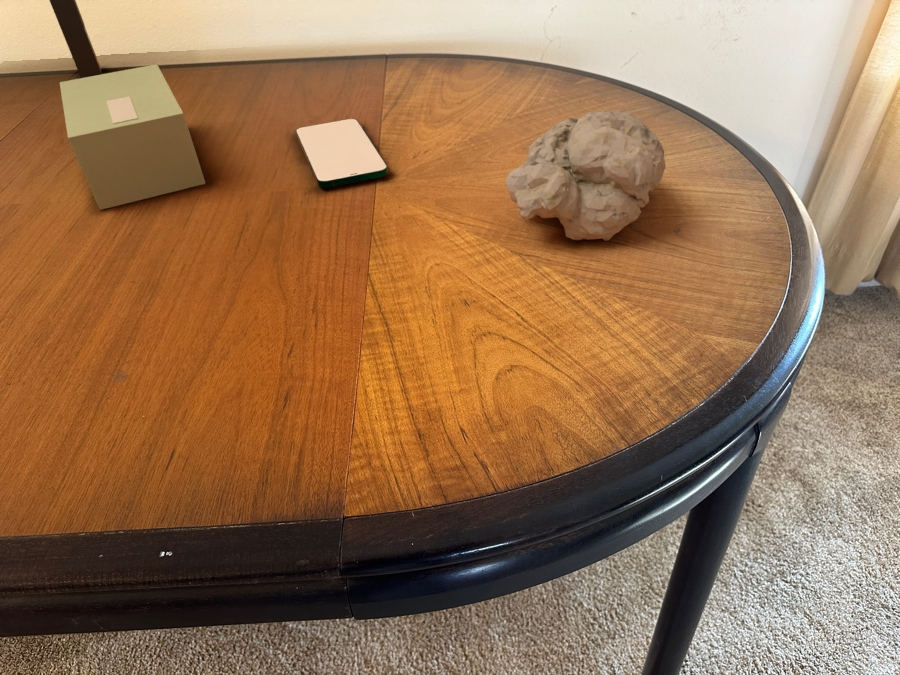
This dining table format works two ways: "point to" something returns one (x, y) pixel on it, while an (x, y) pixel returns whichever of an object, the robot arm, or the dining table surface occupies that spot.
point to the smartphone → (340, 153)
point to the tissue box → (129, 136)
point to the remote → (76, 37)
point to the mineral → (590, 174)
